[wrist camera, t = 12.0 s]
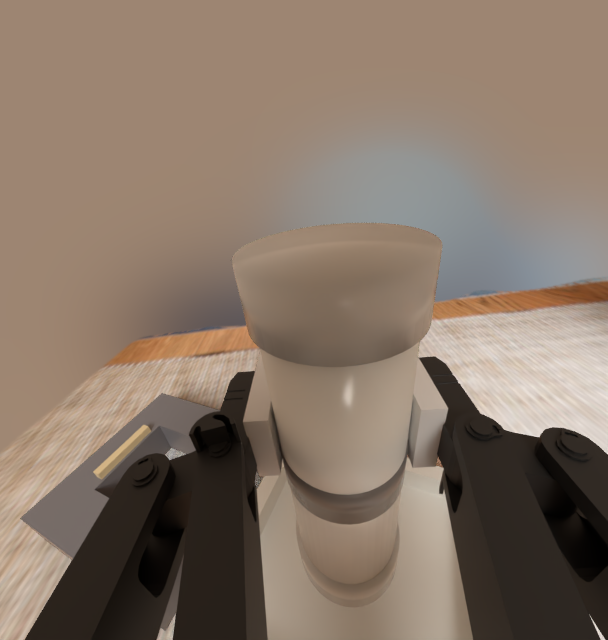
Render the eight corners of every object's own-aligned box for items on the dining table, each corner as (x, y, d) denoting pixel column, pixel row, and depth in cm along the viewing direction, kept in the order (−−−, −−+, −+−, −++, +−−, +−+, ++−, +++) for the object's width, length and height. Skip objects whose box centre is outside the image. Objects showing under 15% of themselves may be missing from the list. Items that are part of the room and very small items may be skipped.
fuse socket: (172, 414, 29) (159, 388, 28) (270, 446, 25) (263, 418, 23) (45, 539, 20) (14, 513, 18) (165, 630, 15) (139, 607, 14)
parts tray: (295, 443, 25) (292, 424, 23) (479, 501, 19) (486, 480, 18) (178, 680, 14) (160, 667, 13) (524, 970, 8) (553, 999, 7)
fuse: (319, 480, 17) (287, 224, 10) (402, 510, 15) (442, 220, 8) (283, 576, 13) (184, 275, 6) (388, 632, 11) (441, 292, 4)
